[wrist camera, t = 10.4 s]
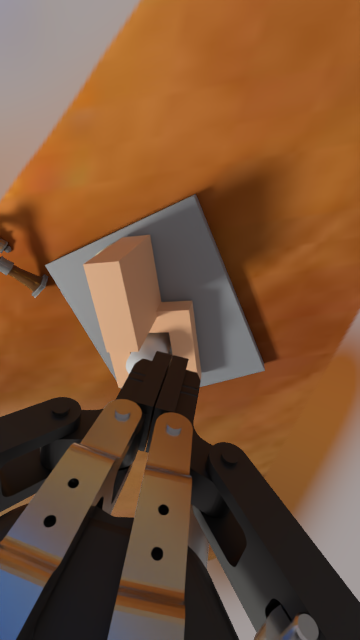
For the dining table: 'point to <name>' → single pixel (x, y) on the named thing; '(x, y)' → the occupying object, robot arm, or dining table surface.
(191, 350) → the peach open lidded box
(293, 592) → the robot arm
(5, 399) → the dining table surface
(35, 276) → the wooden post with brackets
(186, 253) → the post base
